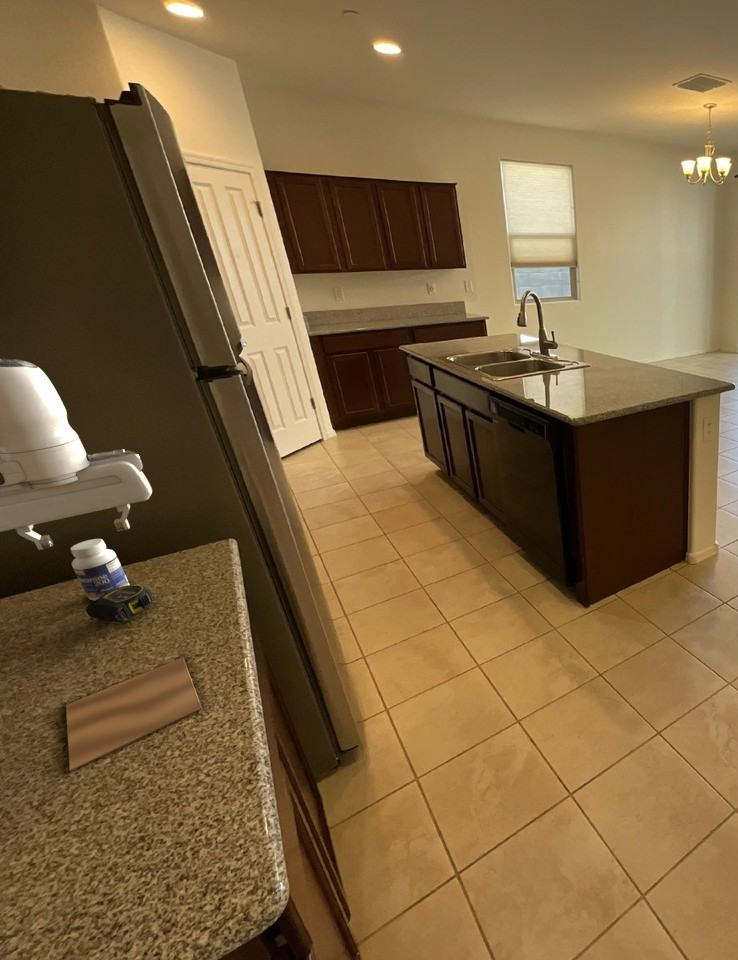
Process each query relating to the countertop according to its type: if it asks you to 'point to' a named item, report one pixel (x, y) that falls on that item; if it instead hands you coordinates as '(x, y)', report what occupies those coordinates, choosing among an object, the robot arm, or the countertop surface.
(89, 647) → the countertop surface
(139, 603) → the tape measure
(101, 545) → the pill bottle
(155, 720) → the wooden board
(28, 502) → the robot arm
